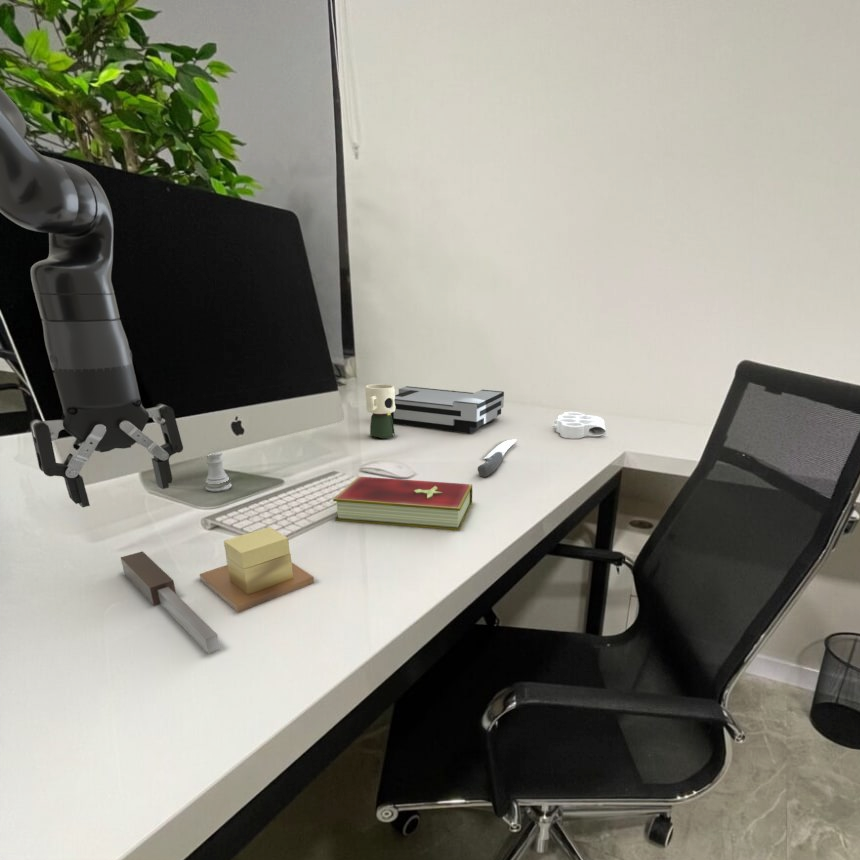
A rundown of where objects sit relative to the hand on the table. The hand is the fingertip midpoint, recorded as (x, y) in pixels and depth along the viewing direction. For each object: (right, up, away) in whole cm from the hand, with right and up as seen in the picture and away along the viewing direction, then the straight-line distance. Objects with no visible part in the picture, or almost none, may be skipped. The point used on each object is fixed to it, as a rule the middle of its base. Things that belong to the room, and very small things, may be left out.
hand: (125, 495), depth 68 cm
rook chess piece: (-7, +1, +36) cm, 36 cm away
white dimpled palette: (+68, +19, +86) cm, 111 cm away
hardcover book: (+30, -3, +28) cm, 41 cm away
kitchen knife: (+45, +9, +59) cm, 75 cm away
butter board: (+14, -11, +4) cm, 19 cm away
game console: (+29, +22, +92) cm, 99 cm away
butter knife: (+7, -13, -2) cm, 15 cm away
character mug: (+16, +15, +73) cm, 77 cm away
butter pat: (+16, -7, +2) cm, 17 cm away
